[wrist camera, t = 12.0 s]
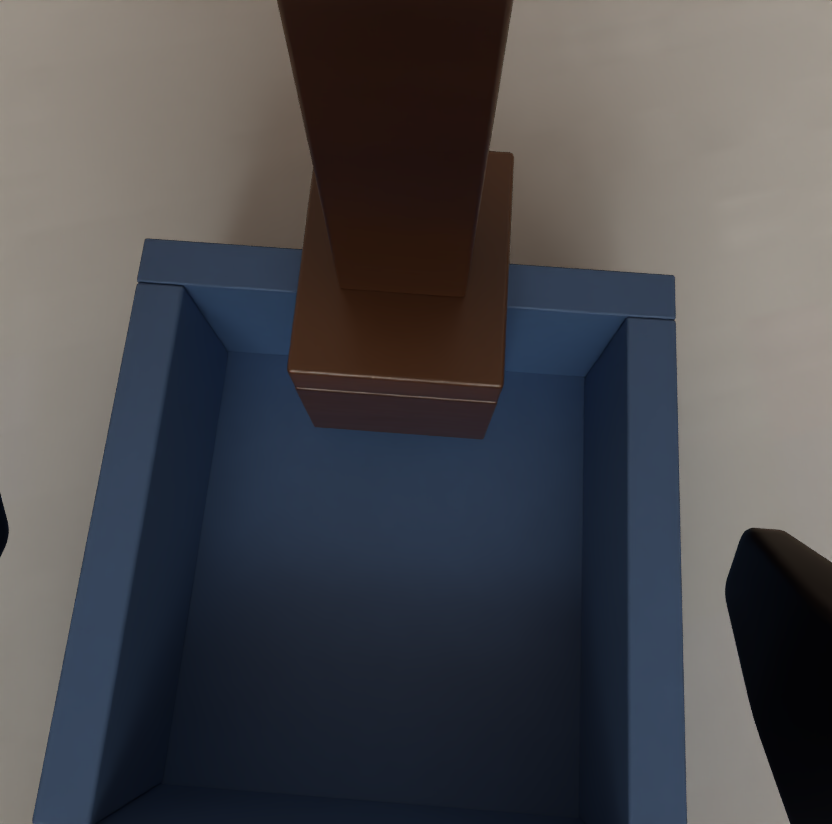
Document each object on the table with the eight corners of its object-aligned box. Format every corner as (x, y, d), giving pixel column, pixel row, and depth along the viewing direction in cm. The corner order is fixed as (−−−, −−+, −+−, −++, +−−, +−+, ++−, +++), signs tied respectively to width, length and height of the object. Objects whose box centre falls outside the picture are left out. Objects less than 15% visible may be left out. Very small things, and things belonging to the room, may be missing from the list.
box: (617, 864, 16) (691, 951, 12) (119, 823, 16) (15, 894, 12) (617, 351, 20) (675, 274, 15) (202, 322, 20) (144, 237, 15)
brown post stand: (483, 440, 17) (666, -31, 5) (313, 427, 17) (61, -71, 5) (493, 247, 19) (655, -505, 6) (335, 237, 19) (183, -532, 6)
